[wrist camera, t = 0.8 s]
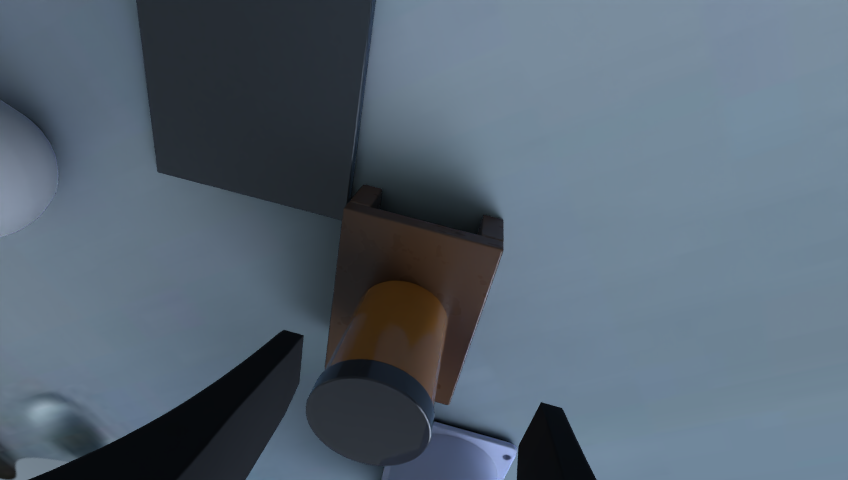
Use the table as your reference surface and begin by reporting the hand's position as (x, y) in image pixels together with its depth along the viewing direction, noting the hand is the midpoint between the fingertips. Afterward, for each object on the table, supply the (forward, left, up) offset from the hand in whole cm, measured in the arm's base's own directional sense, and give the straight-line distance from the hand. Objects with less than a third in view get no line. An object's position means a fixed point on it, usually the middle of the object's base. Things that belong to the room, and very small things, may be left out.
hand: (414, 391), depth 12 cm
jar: (-3, +1, -7) cm, 8 cm away
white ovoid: (-1, +24, -10) cm, 26 cm away
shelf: (-3, +1, -10) cm, 10 cm away
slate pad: (+5, +10, -10) cm, 15 cm away
